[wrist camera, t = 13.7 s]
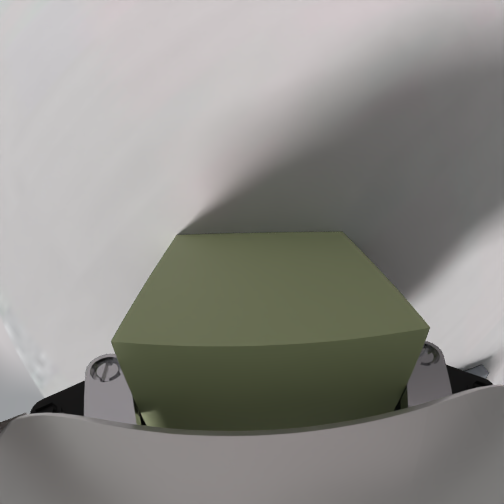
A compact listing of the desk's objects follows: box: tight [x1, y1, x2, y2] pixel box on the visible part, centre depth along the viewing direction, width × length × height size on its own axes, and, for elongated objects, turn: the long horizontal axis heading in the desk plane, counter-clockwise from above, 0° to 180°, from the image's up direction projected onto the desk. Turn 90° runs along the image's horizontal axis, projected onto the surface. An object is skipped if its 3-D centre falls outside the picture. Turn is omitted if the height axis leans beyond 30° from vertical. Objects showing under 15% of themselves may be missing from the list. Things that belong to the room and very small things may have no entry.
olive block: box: [111, 232, 430, 431], centre depth 8 cm, size 6×6×6 cm
